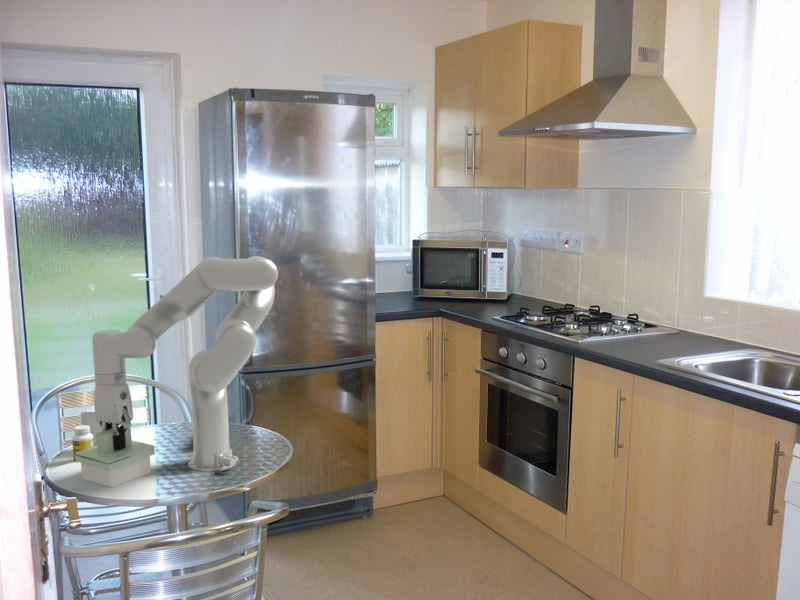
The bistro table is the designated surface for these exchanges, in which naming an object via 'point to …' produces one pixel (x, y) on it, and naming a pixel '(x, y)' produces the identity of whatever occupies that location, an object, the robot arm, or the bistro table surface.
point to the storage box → (116, 472)
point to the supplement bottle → (82, 439)
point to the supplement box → (91, 422)
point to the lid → (113, 451)
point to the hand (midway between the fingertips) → (115, 447)
